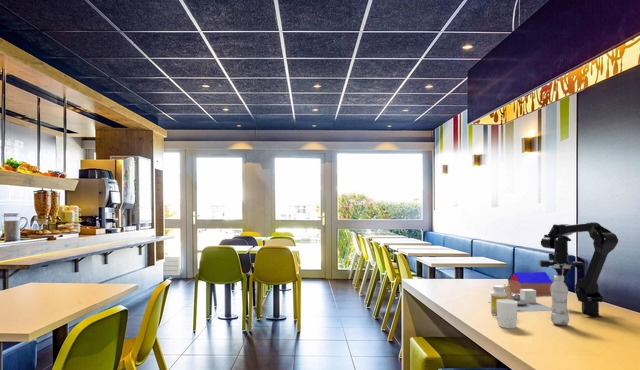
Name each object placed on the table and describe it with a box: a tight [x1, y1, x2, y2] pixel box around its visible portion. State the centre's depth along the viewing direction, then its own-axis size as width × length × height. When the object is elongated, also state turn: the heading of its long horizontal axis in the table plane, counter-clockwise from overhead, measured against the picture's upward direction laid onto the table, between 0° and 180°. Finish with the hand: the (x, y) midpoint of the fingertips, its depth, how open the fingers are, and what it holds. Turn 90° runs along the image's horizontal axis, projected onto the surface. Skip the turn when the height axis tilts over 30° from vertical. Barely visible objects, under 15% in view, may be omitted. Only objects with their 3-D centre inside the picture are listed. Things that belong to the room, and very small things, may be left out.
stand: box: [488, 289, 552, 313], centre depth 205 cm, size 20×24×7 cm
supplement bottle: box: [490, 284, 507, 317], centre depth 191 cm, size 7×7×13 cm
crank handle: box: [503, 283, 527, 305], centre depth 207 cm, size 15×9×10 cm, turn 133°
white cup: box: [496, 299, 518, 329], centre depth 173 cm, size 8×8×10 cm
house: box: [507, 271, 554, 296], centre depth 243 cm, size 12×20×12 cm, turn 100°
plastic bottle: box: [550, 274, 570, 326], centre depth 176 cm, size 6×7×20 cm
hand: (561, 282), depth 208 cm, fingers closed
